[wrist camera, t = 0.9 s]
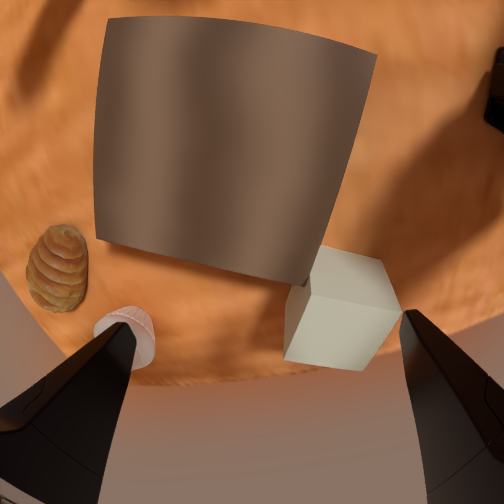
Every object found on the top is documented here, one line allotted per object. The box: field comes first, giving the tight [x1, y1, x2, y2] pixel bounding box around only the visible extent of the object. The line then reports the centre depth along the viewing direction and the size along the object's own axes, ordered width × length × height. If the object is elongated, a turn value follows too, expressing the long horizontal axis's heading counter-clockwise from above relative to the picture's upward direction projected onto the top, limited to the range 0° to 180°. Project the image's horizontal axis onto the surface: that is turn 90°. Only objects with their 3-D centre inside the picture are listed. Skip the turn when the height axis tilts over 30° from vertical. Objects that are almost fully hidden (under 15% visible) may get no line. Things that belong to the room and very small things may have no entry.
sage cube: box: [283, 245, 403, 371], centre depth 21 cm, size 6×6×6 cm
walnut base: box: [93, 16, 377, 287], centre depth 17 cm, size 14×14×4 cm
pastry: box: [26, 225, 88, 313], centre depth 24 cm, size 9×7×4 cm
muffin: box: [93, 305, 156, 372], centre depth 25 cm, size 6×6×7 cm
